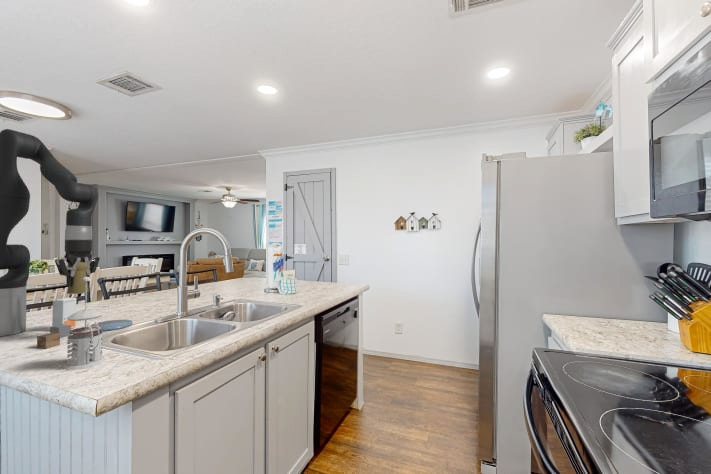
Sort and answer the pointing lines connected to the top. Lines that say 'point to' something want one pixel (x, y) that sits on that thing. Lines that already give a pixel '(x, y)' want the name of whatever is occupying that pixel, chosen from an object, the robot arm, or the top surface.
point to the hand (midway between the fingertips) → (78, 285)
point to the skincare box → (63, 311)
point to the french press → (84, 340)
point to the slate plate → (113, 325)
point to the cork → (79, 279)
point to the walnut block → (48, 340)
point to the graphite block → (61, 330)
